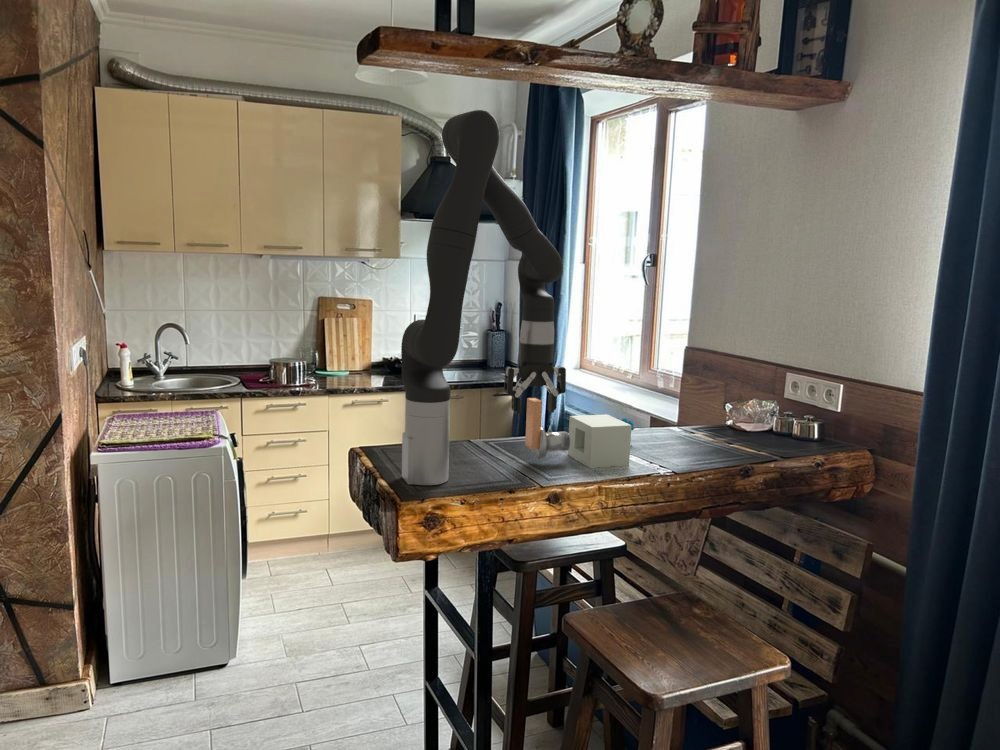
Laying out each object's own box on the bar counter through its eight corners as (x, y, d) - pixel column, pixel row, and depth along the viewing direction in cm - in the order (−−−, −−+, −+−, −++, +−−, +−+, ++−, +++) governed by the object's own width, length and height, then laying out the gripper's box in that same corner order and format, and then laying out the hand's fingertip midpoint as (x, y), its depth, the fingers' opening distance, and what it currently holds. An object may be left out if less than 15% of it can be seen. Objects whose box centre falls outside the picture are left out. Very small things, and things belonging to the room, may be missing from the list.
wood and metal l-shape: (534, 463, 165) (536, 403, 163) (521, 455, 172) (524, 396, 170) (572, 461, 168) (575, 401, 166) (558, 452, 175) (561, 395, 173)
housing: (590, 468, 168) (592, 427, 166) (567, 454, 179) (569, 415, 177) (629, 465, 171) (631, 425, 169) (604, 452, 182) (607, 414, 181)
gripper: (512, 343, 159) (510, 417, 161) (573, 342, 164) (569, 414, 166) (501, 339, 166) (498, 410, 168) (559, 339, 171) (556, 408, 173)
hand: (533, 412), depth 167 cm, fingers open, 8 cm apart
